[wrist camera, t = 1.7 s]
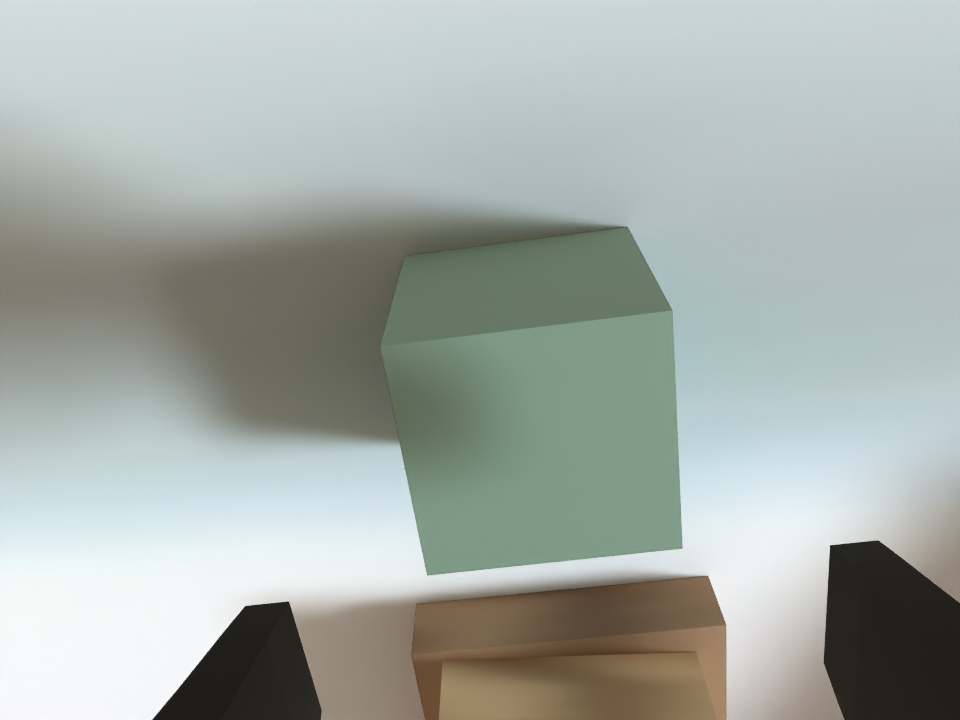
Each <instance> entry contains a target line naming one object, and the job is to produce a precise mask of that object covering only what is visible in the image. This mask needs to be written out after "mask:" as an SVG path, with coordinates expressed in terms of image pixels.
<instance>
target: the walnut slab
mask: <svg viewBox="0 0 960 720" xmlns="http://www.w3.org/2000/svg"><path fill="white" fill-rule="evenodd" d="M683 652H697V655H698V658H699V662H700V665H701V668H702V671H703V675H704V678H705V681H706V685H707V688H708V691H709V694H710V698H711V701H712V704H713V708H714V711H715V714H716V717H717V720H726V623H725V621H724V618H723V615H722V612H721V610H720V607H719V604H718V601H717V599H716V596H715V593H714V591H713V588H712V585H711V582H710V580H709V577H708V576H703V577H693V578H683V579H672V580H662V581H651V582H641V583H630V584H620V585H610V586H599V587H589V588H578V589H568V590H557V591H547V592H537V593H526V594H516V595H505V596H495V597H484V598H474V599H464V600H453V601H443V602H432V603H422V604H416V614H415V624H414V634H413V644H412V653H411V655H412V660H413V665H414V669H415V674H416V679H417V683H418V688H419V692H420V697H421V702H422V706H423V711H424V716H425V720H439V710H440V693H441V677H442V661H443V660H464V659H493V658H523V657H553V656H585V655H618V654H650V653H683Z"/></svg>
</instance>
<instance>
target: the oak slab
mask: <svg viewBox="0 0 960 720" xmlns="http://www.w3.org/2000/svg"><path fill="white" fill-rule="evenodd" d="M439 720H717V717H716V714H715V711H714V708H713V704H712V701H711V698H710V694H709V691H708V688H707V685H706V681H705V678H704V675H703V671H702V668H701V665H700V662H699V658H698V655H697V652H683V653H650V654H618V655H585V656H553V657H523V658H493V659H464V660H443V661H442V677H441V693H440V710H439Z"/></svg>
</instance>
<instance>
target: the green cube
mask: <svg viewBox="0 0 960 720" xmlns="http://www.w3.org/2000/svg"><path fill="white" fill-rule="evenodd" d="M380 349H381V354H382V359H383V364H384V369H385V374H386V378H387V383H388V388H389V393H390V398H391V403H392V407H393V412H394V417H395V422H396V427H397V432H398V436H399V441H400V446H401V451H402V456H403V461H404V465H405V470H406V475H407V480H408V485H409V490H410V494H411V499H412V504H413V509H414V514H415V519H416V523H417V528H418V533H419V538H420V543H421V548H422V552H423V557H424V562H425V567H426V572H427V575H435V574H445V573H454V572H464V571H473V570H483V569H492V568H502V567H511V566H521V565H530V564H540V563H549V562H559V561H568V560H578V559H587V558H597V557H606V556H616V555H625V554H634V553H644V552H653V551H663V550H672V549H682V527H681V503H680V479H679V456H678V432H677V408H676V384H675V360H674V337H673V313H672V309H671V307H670V305H669V303H668V301H667V299H666V298H665V296H664V294H663V292H662V290H661V288H660V286H659V285H658V283H657V281H656V279H655V277H654V275H653V273H652V271H651V270H650V268H649V266H648V264H647V262H646V260H645V258H644V257H643V255H642V253H641V251H640V249H639V247H638V245H637V244H636V242H635V240H634V238H633V236H632V234H631V232H630V230H629V229H628V227H622V228H615V229H607V230H599V231H592V232H584V233H576V234H569V235H561V236H553V237H546V238H538V239H530V240H523V241H515V242H507V243H500V244H492V245H484V246H477V247H469V248H461V249H454V250H446V251H438V252H431V253H423V254H416V255H408V256H405V257H404V260H403V264H402V268H401V271H400V275H399V279H398V282H397V286H396V290H395V293H394V297H393V301H392V304H391V308H390V312H389V315H388V319H387V322H386V326H385V330H384V333H383V337H382V341H381V344H380Z"/></svg>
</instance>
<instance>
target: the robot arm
mask: <svg viewBox="0 0 960 720" xmlns="http://www.w3.org/2000/svg"><path fill="white" fill-rule="evenodd" d="M824 665H825V667H826V670H827V673H828V676H829V679H830V681H831V684H832V687H833V690H834V693H835V695H836V698H837V701H838V704H839V706H840V709H841V711H842V714H843V717H844V719H845V720H960V603H959V602H957V601H956V600H955V599H954V598H952V597H951V596H950V595H948V594H947V593H946V592H944V591H943V590H942V589H940V588H939V587H938V586H937V585H935V584H934V583H933V582H931V581H930V580H929V579H928V578H926V577H925V576H924V575H922V574H921V573H920V572H919V571H917V570H916V569H915V568H914V567H912V566H911V565H910V564H908V563H907V562H906V561H905V560H903V559H902V558H901V557H899V556H898V555H897V554H895V553H894V552H893V551H892V550H890V549H889V548H888V547H886V546H885V545H884V544H882V543H881V542H880V541H868V542H859V543H849V544H839V545H830V559H829V577H828V596H827V614H826V632H825V650H824ZM321 711H322V710H321V707H320V704H319V700H318V697H317V694H316V690H315V687H314V684H313V680H312V677H311V674H310V670H309V667H308V664H307V660H306V657H305V654H304V650H303V647H302V644H301V640H300V637H299V634H298V630H297V627H296V624H295V620H294V617H293V614H292V610H291V607H290V604H289V602H280V603H271V604H261V605H251V606H245V607H244V608H243V610H242V611H241V612H240V613H239V614H238V616H237V617H236V618H235V619H234V620H233V622H232V623H231V624H230V625H229V626H228V628H227V629H226V630H225V631H224V633H223V634H222V635H221V636H220V637H219V639H218V640H217V641H216V642H215V644H214V645H213V646H212V647H211V649H210V650H209V651H208V652H207V654H206V655H205V656H204V657H203V659H202V660H201V661H200V662H199V664H198V665H197V666H196V667H195V669H194V670H193V671H192V672H191V674H190V675H189V676H188V677H187V679H186V680H185V681H184V682H183V684H182V685H181V686H180V687H179V688H178V690H177V691H176V692H175V693H174V694H173V696H172V697H171V698H170V699H169V700H168V702H167V703H166V704H165V705H164V706H163V708H162V709H161V710H160V711H159V712H158V714H157V715H156V716H155V717H154V718H153V720H321Z"/></svg>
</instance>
